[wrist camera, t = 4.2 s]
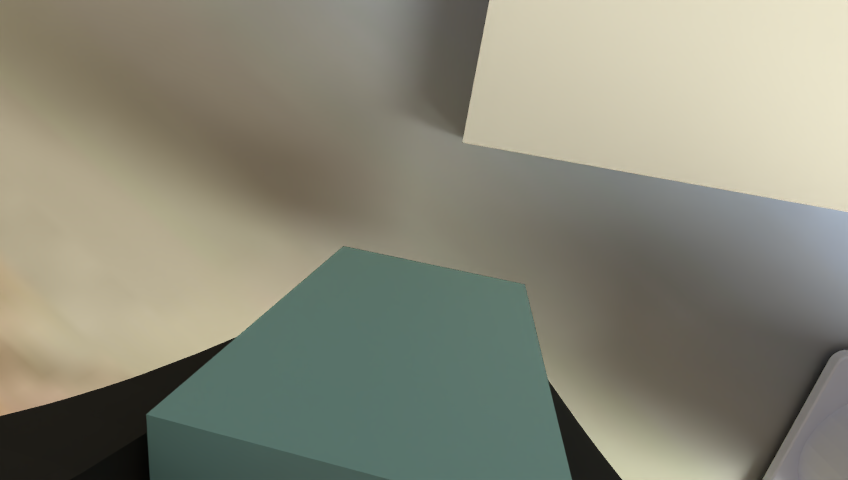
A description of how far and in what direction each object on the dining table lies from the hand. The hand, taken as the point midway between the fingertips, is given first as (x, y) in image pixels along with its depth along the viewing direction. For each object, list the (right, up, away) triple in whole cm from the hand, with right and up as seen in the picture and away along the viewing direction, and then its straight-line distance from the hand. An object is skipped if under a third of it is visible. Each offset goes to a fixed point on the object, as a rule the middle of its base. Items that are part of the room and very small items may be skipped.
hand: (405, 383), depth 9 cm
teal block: (0, 0, +2) cm, 2 cm away
